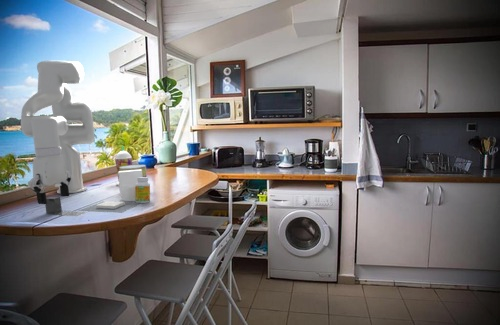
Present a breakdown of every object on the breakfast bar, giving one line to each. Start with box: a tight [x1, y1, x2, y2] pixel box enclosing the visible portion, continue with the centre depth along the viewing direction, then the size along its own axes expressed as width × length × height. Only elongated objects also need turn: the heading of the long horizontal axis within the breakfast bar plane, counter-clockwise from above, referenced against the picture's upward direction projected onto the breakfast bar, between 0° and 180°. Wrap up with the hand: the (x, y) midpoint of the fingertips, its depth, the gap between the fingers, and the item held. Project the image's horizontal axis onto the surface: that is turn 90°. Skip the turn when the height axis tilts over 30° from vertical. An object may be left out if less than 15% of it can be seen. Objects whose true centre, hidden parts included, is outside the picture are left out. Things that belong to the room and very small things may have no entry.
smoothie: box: [114, 145, 133, 182], centre depth 166 cm, size 8×8×20 cm
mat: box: [77, 201, 143, 214], centre depth 118 cm, size 18×13×1 cm
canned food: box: [119, 164, 148, 177], centre depth 143 cm, size 11×11×12 cm
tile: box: [96, 200, 126, 209], centre depth 118 cm, size 1×6×8 cm
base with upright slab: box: [117, 169, 142, 202], centre depth 130 cm, size 9×9×12 cm
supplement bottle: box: [134, 176, 151, 204], centre depth 124 cm, size 5×5×10 cm
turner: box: [44, 196, 88, 217], centre depth 111 cm, size 14×5×6 cm, turn 76°
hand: (54, 199), depth 113 cm, fingers open, 9 cm apart
